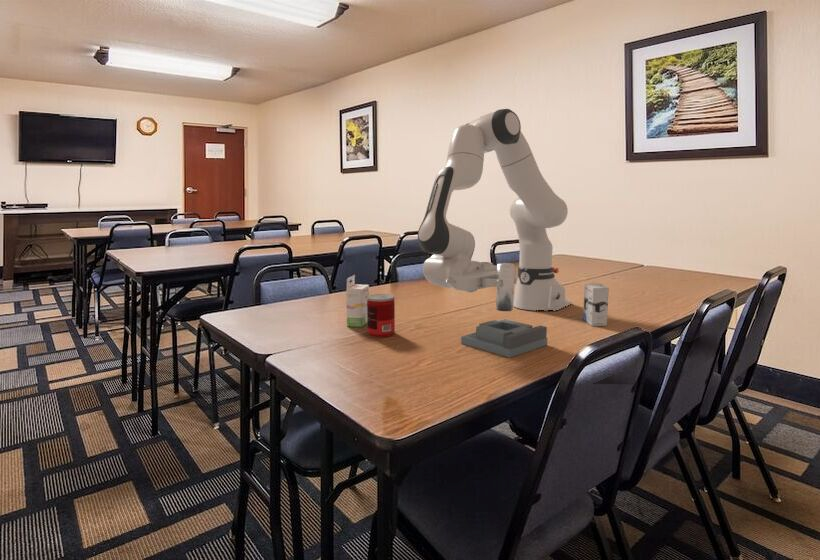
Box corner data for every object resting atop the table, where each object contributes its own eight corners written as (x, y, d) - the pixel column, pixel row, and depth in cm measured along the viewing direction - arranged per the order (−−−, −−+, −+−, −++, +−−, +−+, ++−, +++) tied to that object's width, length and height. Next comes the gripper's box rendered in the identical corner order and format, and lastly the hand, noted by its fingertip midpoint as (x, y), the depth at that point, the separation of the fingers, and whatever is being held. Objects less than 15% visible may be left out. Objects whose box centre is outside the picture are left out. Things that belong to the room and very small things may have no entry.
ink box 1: (362, 327, 154) (361, 279, 151) (346, 326, 155) (345, 278, 152) (370, 320, 162) (369, 274, 160) (355, 320, 163) (354, 274, 161)
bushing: (503, 306, 138) (504, 262, 135) (516, 309, 134) (518, 264, 132) (492, 309, 135) (493, 264, 133) (505, 312, 131) (507, 265, 129)
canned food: (398, 331, 149) (398, 294, 147) (388, 338, 142) (388, 299, 140) (374, 329, 152) (373, 293, 150) (363, 336, 144) (362, 298, 142)
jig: (499, 332, 147) (500, 315, 146) (547, 345, 135) (547, 326, 134) (461, 343, 137) (461, 325, 136) (509, 357, 125) (509, 337, 124)
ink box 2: (582, 319, 162) (584, 283, 160) (597, 319, 162) (600, 283, 160) (590, 326, 154) (592, 287, 152) (607, 326, 154) (609, 287, 152)
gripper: (442, 268, 136) (481, 274, 125) (492, 261, 149) (531, 266, 138) (441, 291, 137) (481, 299, 126) (491, 283, 150) (531, 289, 140)
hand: (508, 282), depth 133 cm, fingers closed on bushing, 4 cm apart
